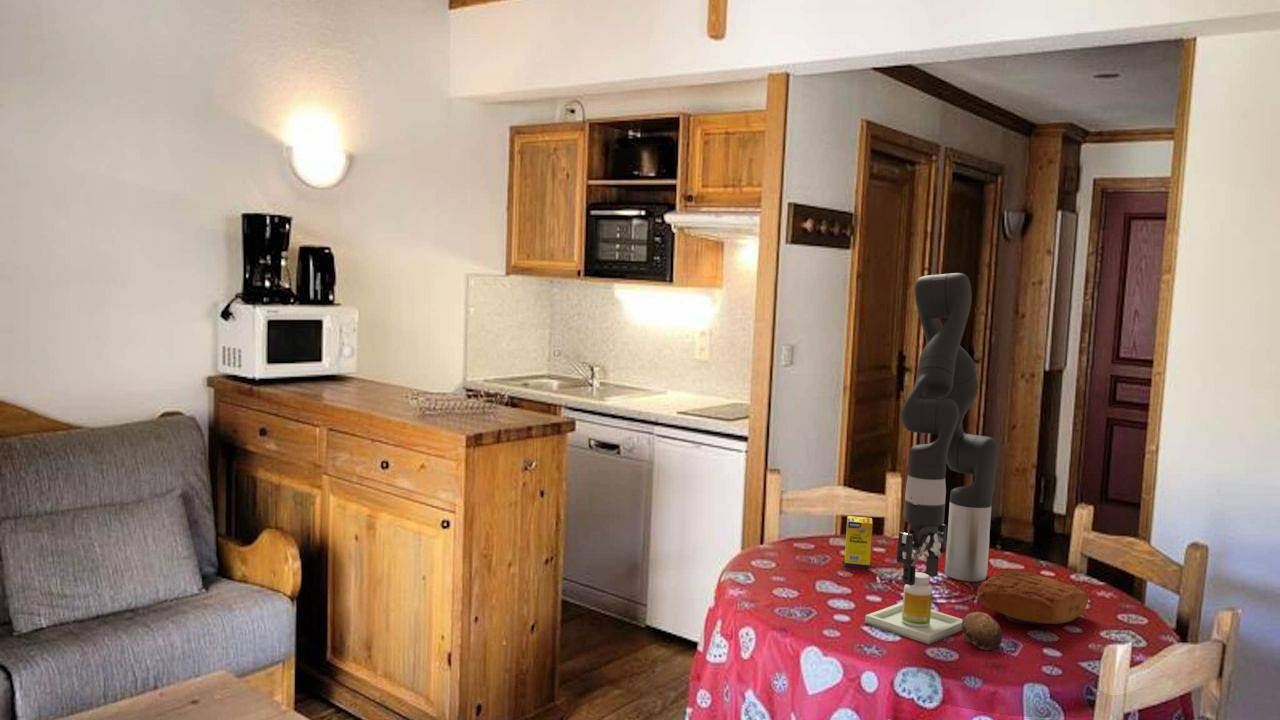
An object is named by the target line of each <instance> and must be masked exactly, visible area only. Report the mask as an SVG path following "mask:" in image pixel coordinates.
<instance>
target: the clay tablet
mask: <svg viewBox="0 0 1280 720" xmlns="http://www.w3.org/2000/svg"><path fill="white" fill-rule="evenodd" d="M976 593H977V594H976V595H977V596H976V600H977V601H978V602H979V603H980V604H981V605H983V606H985V607H987V608H989V609H992V610H993V611H994V612H995V611H996V612H998V613H1000V614H1003V615H1004V616H1007V617H1010V618H1012V619H1016V620H1021V621H1024V622H1025V621H1026V622H1031V623H1039V624H1046V625H1047V624H1049V625H1051V624H1052V625H1054V624H1055V625H1058V624H1065V623H1069V622H1072V621H1074V620H1076V618H1078V617H1080V615H1082V614H1083V612H1084V611H1085V610H1086V608H1087V606H1088V604H1089V597H1088V596H1089V595H1088V594H1087V592H1086V591H1084V590H1082V589H1079V588H1078V587H1076V586H1074V585H1069V584H1066V583H1065V582H1062V581H1059V580H1057V579H1054V578H1051V577H1048V576H1043V575H1038V574H1035V573H1032V572H1026V571H1025V572H1024V571H1021V570H1012V571H1009V572H1002V573H998V574H995V575H994V576H990V577H989V578H988V579H987V580H986V579H985V580H983V581H982V582H981V584H980V585H979V587H978V588H977V592H976Z"/></svg>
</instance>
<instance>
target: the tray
mask: <svg viewBox="0 0 1280 720" xmlns="http://www.w3.org/2000/svg"><path fill="white" fill-rule="evenodd" d="M902 608H903V601H902V602H899V603H896V604H893V605H891V606H888V607H885V608H883V609H879V610H877V611H874V612H871V613H869V614H865V619H864V622H865V624H867V625H870V626H872V627H875V628H878V627H879V629H881V628H882V629H881V630H885V631H888V632H890V633H893V634H895V635H899V636H901V637H902V636H903V637H905V638H908V639H911V640H914V641H917V642H921V643H924V644H927V645H931V644H932V643H935V642H937V641H940V640H942V639H945V638H947V637H950V636H952V635H954V634H957V633H959V632H961V631H963V630H962V620H963V619H964V618H960V617H956V616H953V615H951V614H946V613H943V612H941V611H937V610H934V609H931V615H930V624H929V625H928V626H926V627H914V626H910V625H907V624H905V623H904V622H903V621H902Z"/></svg>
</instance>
